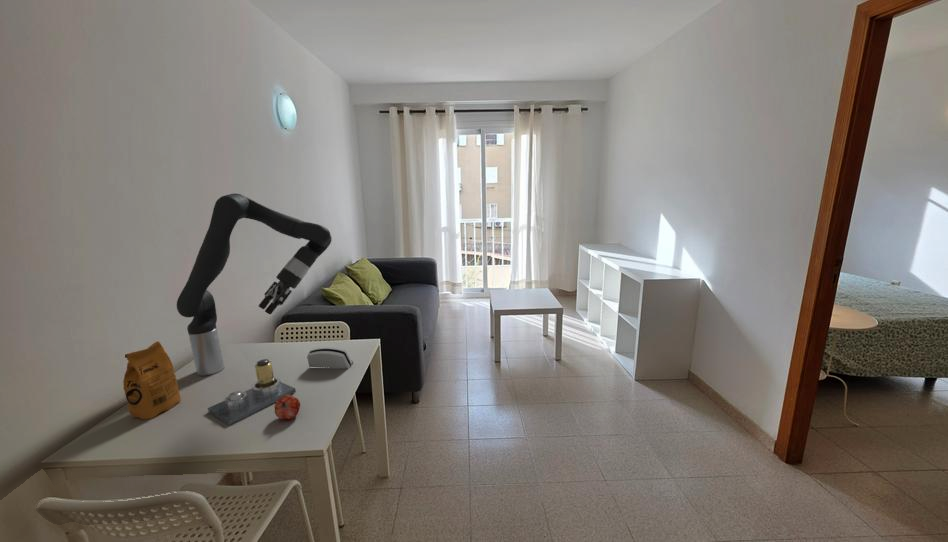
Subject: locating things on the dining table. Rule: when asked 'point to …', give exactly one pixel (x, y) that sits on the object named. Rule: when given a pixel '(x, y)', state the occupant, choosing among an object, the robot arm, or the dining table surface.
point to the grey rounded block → (329, 358)
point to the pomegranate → (287, 407)
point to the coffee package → (150, 382)
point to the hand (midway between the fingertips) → (264, 310)
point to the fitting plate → (249, 401)
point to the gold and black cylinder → (264, 373)
